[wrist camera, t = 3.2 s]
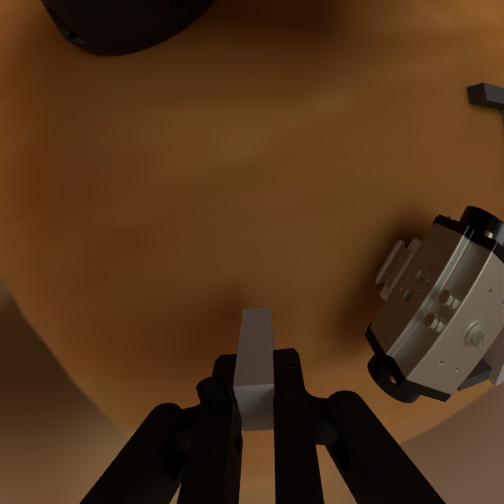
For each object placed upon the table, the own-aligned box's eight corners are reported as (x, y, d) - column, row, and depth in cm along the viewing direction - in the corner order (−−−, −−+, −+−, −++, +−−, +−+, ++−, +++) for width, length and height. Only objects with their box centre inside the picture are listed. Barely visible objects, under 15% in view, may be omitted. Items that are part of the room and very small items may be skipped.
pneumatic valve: (450, 219, 21) (553, 263, 9) (380, 332, 24) (436, 430, 12) (405, 183, 20) (515, 209, 9) (331, 309, 23) (375, 417, 12)
